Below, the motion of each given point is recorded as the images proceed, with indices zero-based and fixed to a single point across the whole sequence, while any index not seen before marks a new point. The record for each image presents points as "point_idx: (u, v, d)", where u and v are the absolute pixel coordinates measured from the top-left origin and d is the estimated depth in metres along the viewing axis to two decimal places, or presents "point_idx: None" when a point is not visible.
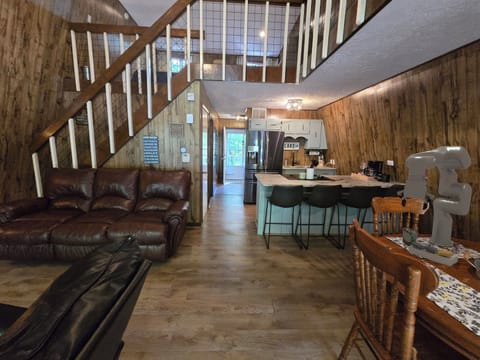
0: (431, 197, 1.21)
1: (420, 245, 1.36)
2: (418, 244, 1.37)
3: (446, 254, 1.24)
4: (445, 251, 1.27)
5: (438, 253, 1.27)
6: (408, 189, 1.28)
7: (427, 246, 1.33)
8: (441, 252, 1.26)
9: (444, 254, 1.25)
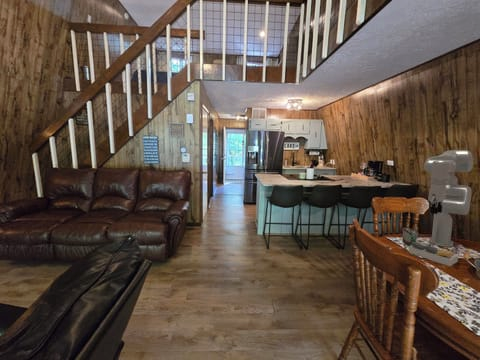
0: None
1: (420, 245, 1.36)
2: (418, 244, 1.37)
3: (446, 254, 1.24)
4: (445, 251, 1.27)
5: (438, 253, 1.27)
6: (440, 194, 1.26)
7: (427, 246, 1.33)
8: (441, 252, 1.26)
9: (444, 254, 1.25)
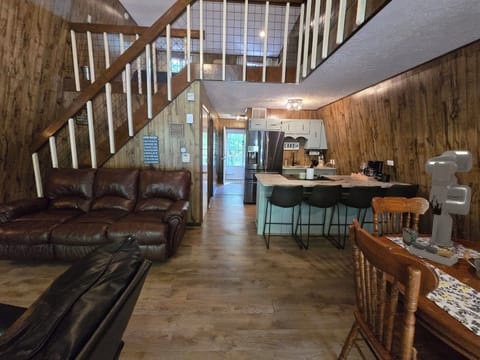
0: (442, 202, 1.30)
1: (420, 245, 1.36)
2: (418, 244, 1.37)
3: (446, 254, 1.24)
4: (445, 251, 1.27)
5: (438, 253, 1.27)
6: (442, 195, 1.25)
7: (427, 246, 1.33)
8: (441, 252, 1.26)
9: (444, 254, 1.25)
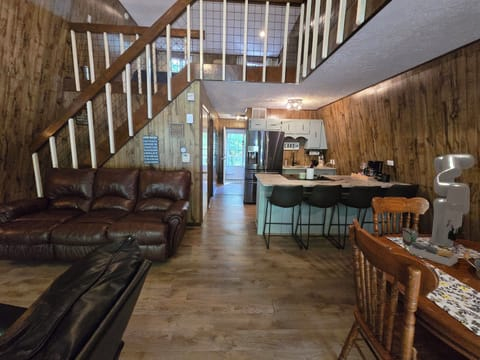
0: None
1: (420, 245, 1.36)
2: (418, 244, 1.37)
3: (446, 254, 1.24)
4: (445, 251, 1.27)
5: (438, 253, 1.27)
6: (457, 220, 1.19)
7: (427, 246, 1.33)
8: (441, 252, 1.26)
9: (444, 254, 1.25)
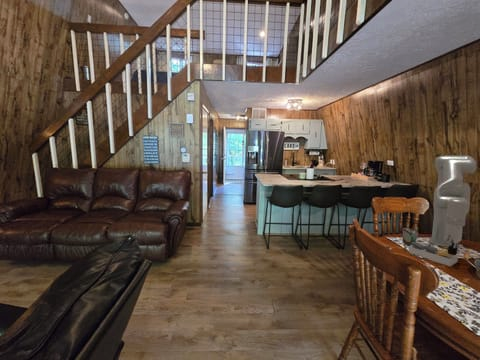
0: None
1: (420, 245, 1.36)
2: (418, 244, 1.37)
3: (446, 254, 1.24)
4: (445, 251, 1.27)
5: (438, 253, 1.27)
6: (457, 235, 1.19)
7: (427, 246, 1.33)
8: (441, 252, 1.26)
9: (444, 254, 1.25)
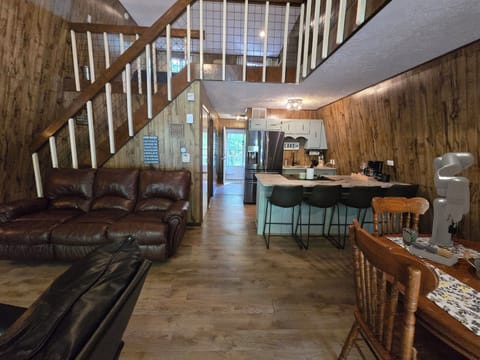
0: None
1: (420, 245, 1.36)
2: (418, 244, 1.37)
3: (446, 255, 1.24)
4: (446, 251, 1.27)
5: (438, 252, 1.27)
6: (457, 214, 1.19)
7: (427, 246, 1.33)
8: (442, 252, 1.26)
9: (444, 254, 1.25)
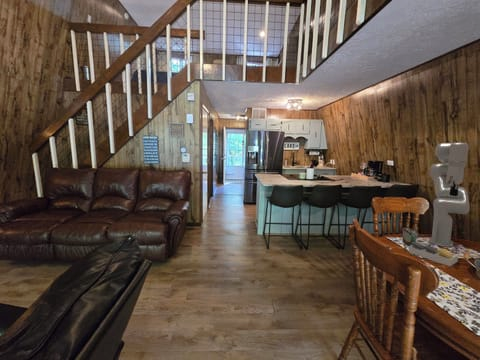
0: (458, 184, 1.32)
1: (420, 245, 1.36)
2: (418, 244, 1.37)
3: (446, 255, 1.24)
4: (446, 251, 1.27)
5: (439, 251, 1.27)
6: (459, 176, 1.26)
7: (427, 246, 1.33)
8: (442, 252, 1.26)
9: (444, 255, 1.25)
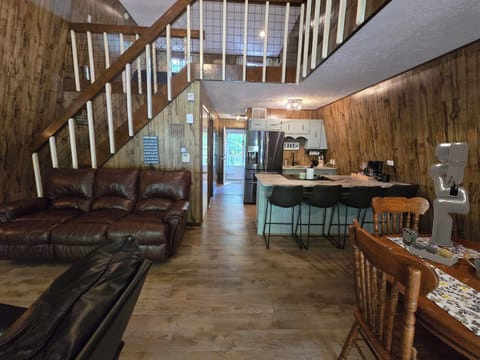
0: (458, 184, 1.32)
1: (420, 245, 1.36)
2: (418, 244, 1.37)
3: (446, 255, 1.24)
4: (446, 251, 1.27)
5: (439, 251, 1.27)
6: (459, 176, 1.26)
7: (427, 246, 1.33)
8: (442, 252, 1.26)
9: (444, 255, 1.25)
